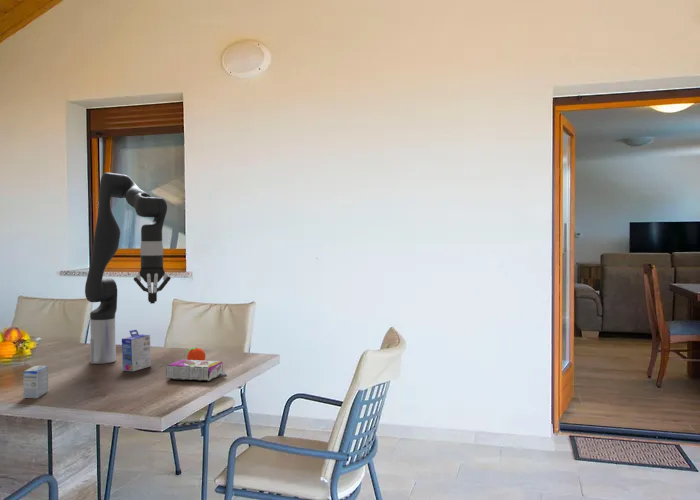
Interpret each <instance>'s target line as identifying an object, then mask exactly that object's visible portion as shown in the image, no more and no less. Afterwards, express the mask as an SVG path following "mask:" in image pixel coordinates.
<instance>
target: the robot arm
mask: <svg viewBox="0 0 700 500" xmlns="http://www.w3.org/2000/svg"><path fill="white" fill-rule="evenodd" d="M98 193H99V195H98V208H97V209H98V210H97V218H96V224H95V231H94V237H93V246H92V252H91V253H92V254H91V257H90V258H91V259H90V264H89V269H88V273H87V277H86V281H85V287H84V296H85V298H86V300H87V301H88V302H89V303H100V304H99V305H98V306H97V307H96V308H95V309H94V310H92V311H91V312H90V314H89V319H90V320H89V321H90V322H89V323H90V325H89V326H90V327H89V328H90V331H89V332H90V334H89V335H90V338H89V339H90V342H89V343H90V346H89V347H90V352H89V353H90V364H92V365H93V364H96V365H97V364H98V365H99V364H100V365H101V364H103V365H104V364H109V363H114V362H115V361H117V354H116V353H117V351H116V350H117V349H116V346H117V345H116V341H117V340H116V313H117V309H118V308H117V307H118V305H117V304H118V286H117V282H116V280H115V279H114V278H111V277H104V278H103V276H104V272H105V270H106V268H107V266H108V264H109V263H110V261H111V260H112V259H113V257H114V256H115V255H116V253H117V252H118V250H119V247H120V246H119V245H120V239H121V229H120V226H119V224H118V222H117V220H116V219H115V216H114V214H113V211H112V208H111V207H112V206H111V198H118V199H125V201H126V202H127V204H128V205H130V206H131V207H132V208H133V209H135V213H136V215H138V217H141V218H153V220H152V222H151V223H146V224H143V225H142V226H141V228H140V240H141V242H140V269H139V272H138V273H139V274H137V275H136V276H134V277H133V281H134V282H135V283H136V284H137V285H138V286H139V288H140V289H141V290H142V291H143V292H146V293H147V302H148V303H150V304H151V305H152V304H155V303H156V302H157V300H158V294H157V293H158V292H160V291H162V290H163V289H164V288H165V287H166V286H167V284H168V283H169V282H170V280H171V276H169V275H167V274H166V271H165V270H164V245H163V226H164V223H165V219H166V216H167V211H168V204H167V201H166V200H165V199H164V198H163V197H155V196H154V197H152V196H151V195H150V194H149V193H148V192H146V191H145V190H144V189H143V190H142V189H141V188H140V187H139V186H138V185H137V184H136V183H135V182H134V180H133V179H132V178H131V177H130V176H128V175H126V174H121V173H113V172H104V173H103V174H102V176H101V178H100V182H99V191H98ZM141 278H142V279H143V281H144V282H145V283H146V286H145V285H144V284H143V283H142V282H141V281H142V279H141ZM161 280H163V281H162V282H161V283H160V285H159V286H158V283H159V282H160V281H161Z"/></svg>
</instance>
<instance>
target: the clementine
mask: <svg viewBox="0 0 700 500" xmlns="http://www.w3.org/2000/svg"><path fill="white" fill-rule="evenodd" d="M185 355H186V354H184V356H185ZM186 360H203V361H206V353H205V351H204V350H203V349H202V348H199V347H192V348H189V349H187V356H186Z"/></svg>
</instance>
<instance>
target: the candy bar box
mask: <svg viewBox="0 0 700 500" xmlns="http://www.w3.org/2000/svg"><path fill="white" fill-rule="evenodd" d="M223 366H224V365H223V361H221V360H205V361H203V360H187V359H179V360H177V361H175V362H171V363H169V364H166V365H165V379H166V380H167V379H170V380H177V379H184V380H183V381H185V380H188V381H189V380H190V381H205V382H206V381H208V382H209V381H212V380H213V379H215V378H218V376H220V375H222V369H223ZM223 370H224V369H223Z"/></svg>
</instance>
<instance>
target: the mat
mask: <svg viewBox="0 0 700 500" xmlns="http://www.w3.org/2000/svg"><path fill="white" fill-rule="evenodd" d="M227 376H228V375H227V373H226V372H225V370H224V369H222V375H220V376H218V377H219V378H220V377H227ZM218 377H217V378H218ZM176 381H185V380H184V379H176Z"/></svg>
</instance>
